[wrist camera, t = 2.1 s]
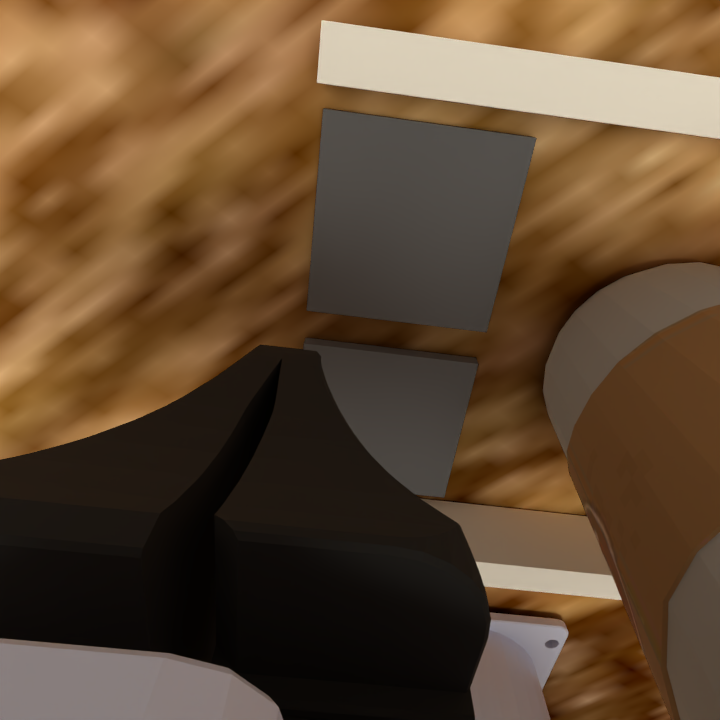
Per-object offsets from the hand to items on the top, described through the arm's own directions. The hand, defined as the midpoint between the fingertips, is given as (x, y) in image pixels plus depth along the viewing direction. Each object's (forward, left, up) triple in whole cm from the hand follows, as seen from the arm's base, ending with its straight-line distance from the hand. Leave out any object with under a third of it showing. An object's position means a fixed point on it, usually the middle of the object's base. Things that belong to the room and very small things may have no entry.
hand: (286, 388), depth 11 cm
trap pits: (0, -3, -4) cm, 5 cm away
